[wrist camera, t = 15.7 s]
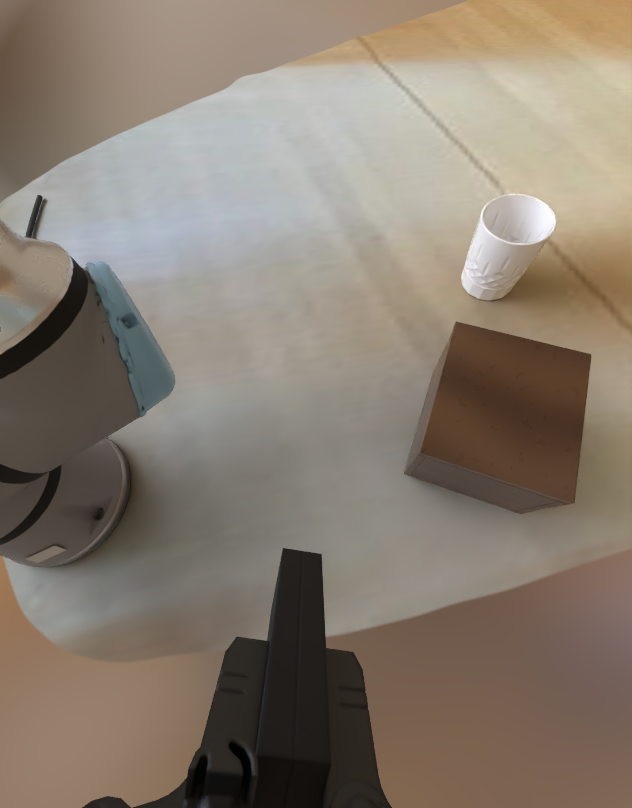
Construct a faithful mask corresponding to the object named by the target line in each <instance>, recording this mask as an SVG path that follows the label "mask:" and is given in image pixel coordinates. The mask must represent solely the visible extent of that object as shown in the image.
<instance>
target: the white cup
mask: <svg viewBox="0 0 632 808" xmlns="http://www.w3.org/2000/svg"><path fill="white" fill-rule="evenodd" d="M556 224H557V220H556V216H555V213H554V212H553V210H552V209H551V208H550V207H549V206H548V205H547V204H546V203H545V202H543V201H541V200H540V199H537V198H535V197H532V196H529V195H524V194H507V195H502V196H499V197H496V198H494V199H492V200H491V201H489V202H488V203H487V204H486V205H485V207H484V208H483V210H482V213H481V216H480V219H479V222H478V225H477V227H476V230H475V233H474V236H473V239H472V242H471V245H470V249H469V252H468V255H467V258H466V264H465V267H464V270H463V273H462V275H461V280H462V286H463V287H464V289H465V290H466V291H467V292H468V294H470V295H472V296H474V297H476V298H478V299H482V300H489V301H491V300H496V299H500V298H502V297H504V296H505V295H506V294H508V293H509V292H510V291H511V290H512V288H513V287H514V285H515V284H516V282H517V281H518V280H519V279H520V278H521V276H522V275H523V274H524V272H525V271H526V269H527V268H528V267H529V266H530V265H531V263H532V262H533V260H534V259H535V257H536V256H537V255H538V253H539V252H540V250H541V249H542V248H543V246H544V245H545V243H546V242H547V241H548V239H549V238H550V236H551V235H552V234H553V232H554V230H555V228H556Z"/></svg>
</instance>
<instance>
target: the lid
mask: <svg viewBox="0 0 632 808" xmlns="http://www.w3.org/2000/svg"><path fill="white" fill-rule="evenodd" d="M590 363H591V354H587V353H583V352H579V351H575V350H571V349H567V348H563V347H558V346H554V345H550V344H546V343H542V342H538V341H534V340H530V339H525V338H521V337H517V336H513V335H509V334H505V333H501V332H497V331H492V330H488V329H484V328H480V327H476V326H472V325H468V324H464V323H459V322H456V323H455V325H454V328H453V331H452V335H451V338H450V342H449V346H448V349H447V353H446V356H445V360H444V363H443V367H442V370H441V374H440V378H439V381H438V385H437V388H436V392H435V395H434V399H433V403H432V406H431V410H430V413H429V417H428V420H427V424H426V427H425V431H424V435H423V438H422V442H421V445H420V449H419V452H418V455H421V456H424V457H427V458H430V459H433V460H436V461H439V462H442V463H445V464H448V465H451V466H454V467H457V468H460V469H464V470H467V471H470V472H473V473H476V474H479V475H482V476H485V477H488V478H491V479H494V480H497V481H500V482H503V483H506V484H509V485H512V486H515V487H518V488H521V489H524V490H527V491H530V492H533V493H536V494H539V495H542V496H545V497H548V498H551V499H554V500H557V501H560V502H563V503H566V504H573V503H574V502H575V493H576V484H577V476H578V467H579V458H580V449H581V441H582V432H583V423H584V415H585V406H586V397H587V389H588V380H589V371H590Z"/></svg>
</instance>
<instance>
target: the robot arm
mask: <svg viewBox="0 0 632 808" xmlns="http://www.w3.org/2000/svg"><path fill="white" fill-rule="evenodd" d="M41 201H42V196H41V195H37V199H36V202H35V205H34V208H33V211H32V214H31V217H30V221H29V225H28V229H27V232H26V236H25V237H22V236H20V235H18V234H16V233H15V232H14V231H13V230H12V229H11V228H10V227H8V226H7V225H6V224H5V223H4V222H3V221H2V220H1V219H0V555H1V556H4V557H6V558H9V559H11V560H13V561H15V562H17V563H20V564H24V565H27V566H34V567H44V566H58V565H63V564H67V563H70V562H73V561H75V560H78V559H80V558H82V557H84V556H85V555H87V554H88V553H90V552H91V551H93V550H94V549H95V548H97V547H98V546H99V545H100V544H101V543H102V542H103V541H104V540H105V539H106V538H107V537H108V536H109V535H110V533H111V532H112V531H113V530H114V528H115V527H116V525H117V524H118V522H119V520H120V519H121V517H122V515H123V512H124V510H125V508H126V505H127V502H128V498H129V493H130V484H131V478H130V470H129V466H128V462H127V460H126V458H125V456H124V454H123V453H122V451H121V450H120V449H119V448H118V446H117V445H115V444H114V443H113V442H111V441H110V440H108V439H106V437H108V436H109V435H111V434H112V433H114V432H116V431H117V430H119V429H121V428H122V427H124V426H126V425H127V424H129V423H131V422H132V421H134V420H136V419H137V418H139V417H142V416H144V415H145V414H146V411H148V410H149V409H151V408H152V407H153V406H155V405H156V404H158V403H159V402H160V401H162V400H163V399H165V398H166V397H167V396H169V395H170V393H171V392H172V390H173V388H174V385H175V375H174V372H173V370H172V368H171V366H170V364H169V362H168V360H167V358H166V357H165V355H164V353H163V351H162V349H161V348H160V346H159V344H158V342H157V341H156V339H155V337H154V336H153V334H152V332H151V331H150V329H149V327H148V325H147V324H146V322H145V320H144V319H143V317H142V316H141V314H140V312H139V311H138V309H137V307H136V306H135V304H134V302H133V301H132V299H131V298H130V296H129V294H128V293H127V291H126V290H125V288H124V287H123V285H122V284H121V282H120V280H119V279H118V278H117V276H116V275H115V273H113V271H112V270H111V268H110V266H109V265H108V264H106V263H104V262H97V263H87V264H86V267H85V268H84V269H83V268H81V267H80V266H79V265H78V264H77V263H76V261H75V260H74V259H73V258H72V257H71V256H70V255H69V254H68V252H66V251H65V250H64V249H63V248H62V247H61V246H59V245H58V244H56V243H53V242H50V241H44V240H38V239H33V238H31V236H32V232H33V229H34V225H35V221H36V217H37V214H38V211H39V208H40V205H41ZM371 730H372V729H371V723H370V716H369V711H368V703H367V696H366V693H365V683H364V676H363V670H362V668H361V666H360V664H359V662H358V660H357V658H356V657H355V655H354V653H353V652H349V651H342V650H335V649H328V648H326V640H325V618H324V597H323V576H322V554H317V553H311V552H304V551H298V550H292V549H285V548H283V551H282V556H281V561H280V566H279V572H278V577H277V582H276V588H275V593H274V598H273V604H272V609H271V616H270V624H269V631H268V638H267V641H263V640H256V639H249V638H242V637H236V638H235V640H234V641H233V642H232V644H231V645H230V646H229V648H228V649H227V650H226V652H225V656H224V659H223V663H222V667H221V671H220V675H219V678H218V682H217V686H216V690H215V693H214V698H213V702H212V705H211V709H210V713H209V716H208V720H207V724H206V728H205V731H204V735H203V739H202V743H201V747H200V748H199V749H198V750H197V751H196V753H195V755H194V757H193V760H192V762H191V764H190V766H189V769H188V776H187V778H186V779H185V781H184V782H183V783H182V784H181V785H180V786H179V787H178V788H177V789H175V790H174V791H173V792H171V793H170V794H169V795H167V796H165V797H163V798H160V799H158V800H156V801H153V802H149V803H146V804H143V805H140V806H137V807H133V808H392V807H391V806H390V804H389V802H388V801H387V799H386V797H385V795H384V792H383V790H382V788H381V784H380V780H379V776H378V769H377V763H376V756H375V749H374V743H373V736H372V731H371ZM82 808H131V807H130V806H129V805H127V804H126V803H125V802H124V801H123V800H122V799H121V798H115V797H109V796H107V797H103V798H100V799H97V800H93V801H91V802H90V803H88V804H87V805H85V806H84V807H82Z"/></svg>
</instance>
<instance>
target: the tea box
mask: <svg viewBox="0 0 632 808" xmlns="http://www.w3.org/2000/svg"><path fill="white" fill-rule="evenodd" d="M451 335H452V334H451ZM450 338H451V336H450ZM450 338H449V341H448V343H447V345H446V347H445V349H444V351H443V353H442V355H441V357H440V359H439V362H438V364H437V366H436V368H435V370H434V372H433V375H432V378H431V382H430V385H429V389H428V392H427V396H426V399H425V403H424V406H423V409H422V413H421V416H420V420H419V423H418V427H417V430H416V434H415V437H414V441H413V444H412V447H411V451H410V454H409V458H408V461H407V465H406V468H405V472H404V474H407V475H410V476H413V477H415V478H418V479H421V480H424V481H427V482H430V483H433V484H436V485H439V486H441V487H444V488H447V489H450V490H453V491H456V492H459V493H462V494H465V495H467V496H470V497H473V498H476V499H479V500H482V501H485V502H488V503H491V504H493V505H496V506H499V507H502V508H505V509H508V510H511V511H514V512H517V513H520V514H522V513H526V512H531V511H536V510H541V509H546V508H552V507H557V506H562V505H567V504H566V503H563V502H560V501H557V500H554V499H551V498H548V497H545V496H542V495H539V494H536V493H533V492H530V491H527V490H524V489H521V488H518V487H515V486H512V485H509V484H506V483H503V482H500V481H497V480H494V479H491V478H488V477H485V476H482V475H479V474H476V473H473V472H470V471H467V470H464V469H460V468H457V467H454V466H451V465H448V464H445V463H442V462H439V461H436V460H433V459H430V458H427V457H424V456H421V455H418V452H419V449H420V445H421V442H422V438H423V435H424V431H425V427H426V424H427V420H428V417H429V413H430V410H431V406H432V403H433V399H434V395H435V392H436V388H437V385H438V381H439V378H440V374H441V370H442V367H443V363H444V360H445V356H446V353H447V349H448V346H449V342H450Z"/></svg>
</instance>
